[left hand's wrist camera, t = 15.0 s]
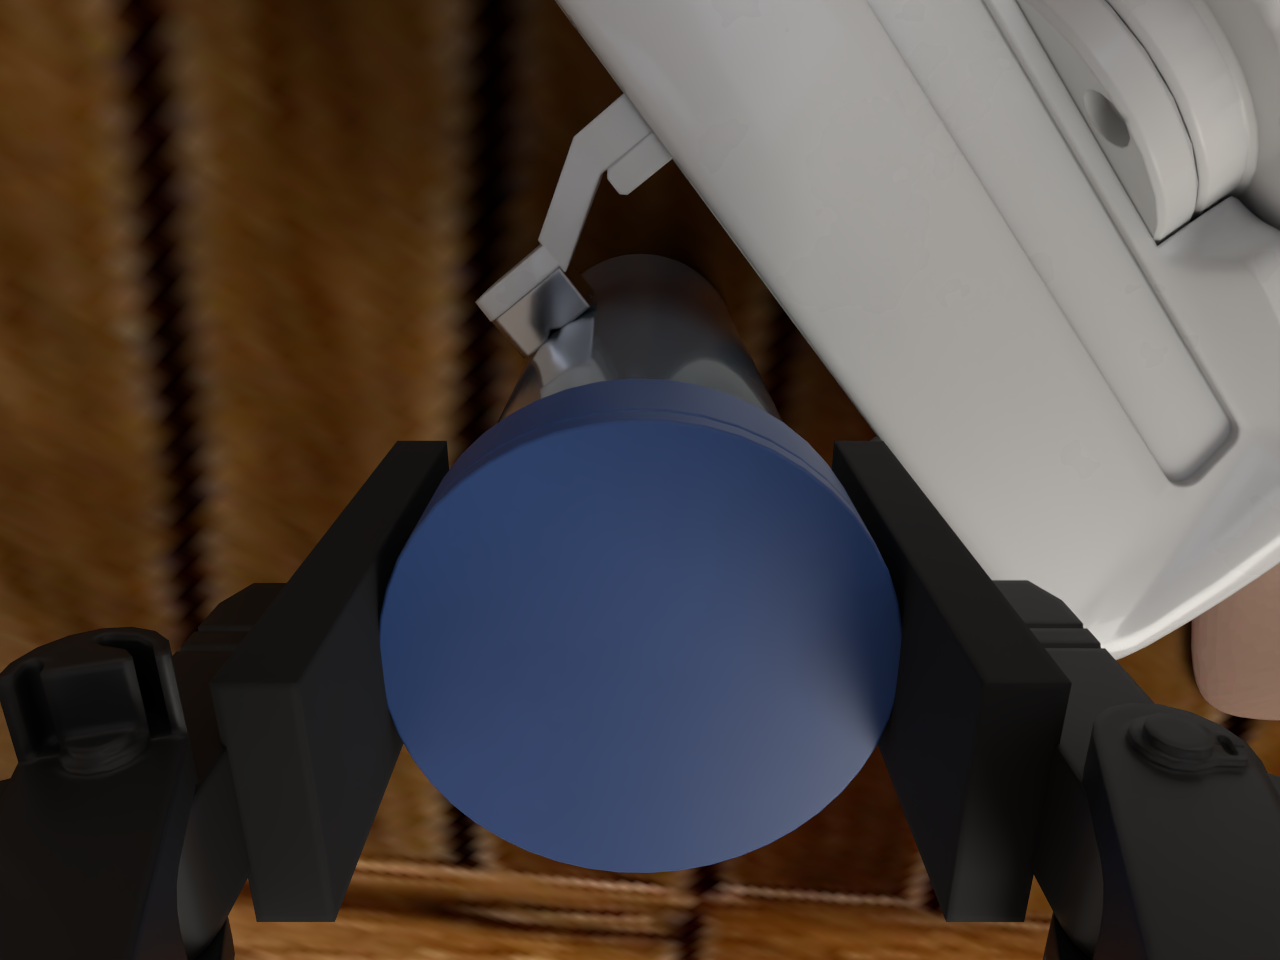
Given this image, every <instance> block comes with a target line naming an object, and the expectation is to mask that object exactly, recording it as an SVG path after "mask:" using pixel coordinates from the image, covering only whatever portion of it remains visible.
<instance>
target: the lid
mask: <svg viewBox="0 0 1280 960" xmlns="http://www.w3.org/2000/svg"><path fill="white" fill-rule="evenodd" d="M379 639H380V649H381V658H382V666H383V675H384V683H385V691H386V698H387V706H388V709H389V712H390V714H391V717H392V719H393V722H394V724H395V727H396V729H397V732H398V734H399V736H400V738H401V739H402V741H403V743H404V745H405V746H406V748H407V750H408V752H409V753H410V755H411V757H412V759H413V760H414V761H415V763H416V764H417V765H418V767H419V768H420V769H421V770H422V772H423V773H424V774H425V776H426V777H427V778H428V780H429V781H430V782H431V783H432V784H433V785H434V786H435V787H436V788H437V789H438V790H439V791H440V792H441V793H442V794H443V795H444V796H445V797H446V798H447V799H448V801H449V802H450V803H451V804H453V805H454V806H455V807H456V808H458V809H459V810H460V811H461V812H463V813H464V814H465V815H467V816H468V817H469V818H470V819H472V820H473V821H474V822H475V823H477V824H479V825H480V826H482V827H484V828H485V829H487V830H488V831H490V832H492V833H493V834H495V835H497V836H498V837H500V838H501V839H504V840H506V841H508V842H510V843H512V844H514V845H516V846H518V847H521V848H523V849H525V850H527V851H529V852H532V853H535V854H538V855H541V856H544V857H547V858H549V859H552V860H555V861H558V862H563V863H567V864H571V865H576V866H580V867H584V868H590V869H598V870H606V871H614V872H637V873H653V872H665V871H678V870H685V869H690V868H695V867H701V866H706V865H711V864H715V863H718V862H721V861H725V860H728V859H732V858H735V857H738V856H741V855H744V854H746V853H748V852H751V851H753V850H756V849H758V848H761V847H763V846H765V845H768V844H770V843H771V842H773V841H775V840H777V839H779V838H781V837H782V836H784V835H786V834H788V833H790V832H791V831H793V830H795V829H796V828H798V827H799V826H801V825H802V824H803V823H805V822H806V821H808V820H809V819H811V818H812V817H813V816H815V815H816V814H818V813H819V812H820V811H821V810H822V809H823V808H825V807H826V806H827V805H828V804H829V803H830V802H831V801H832V800H833V799H834V798H836V797H837V796H838V795H839V794H840V793H841V792H842V791H843V790H844V789H845V787H846V786H847V785H848V784H849V783H850V782H851V780H852V779H853V778H854V777H855V776H856V775H857V773H858V772H859V771H860V770H861V768H862V767H863V765H864V764H865V762H866V761H867V759H868V758H869V756H870V755H871V753H872V752H873V750H874V749H875V747H876V746H877V744H878V741H879V739H880V737H881V735H882V733H883V731H884V729H885V727H886V724H887V722H888V720H889V718H890V715H891V711H892V708H893V705H894V699H895V692H896V684H897V675H898V667H899V659H900V649H901V640H902V622H901V616H900V609H899V603H898V598H897V595H896V592H895V589H894V586H893V582H892V579H891V576H890V573H889V570H888V568H887V566H886V564H885V562H884V560H883V558H882V556H881V554H880V552H879V550H878V548H877V546H876V544H875V542H874V540H873V538H872V536H871V535H870V533H869V531H868V530H867V528H866V526H865V524H864V522H863V521H862V519H861V517H860V515H859V514H858V512H857V510H856V508H855V507H854V505H853V503H852V501H851V499H850V498H849V496H848V494H847V492H846V491H845V489H844V487H843V486H842V484H841V483H840V481H839V480H838V479H837V477H836V476H835V474H834V473H833V471H832V470H831V468H830V467H829V466H828V464H827V463H826V462H825V461H824V460H823V459H822V458H821V456H820V455H819V454H818V453H817V452H816V451H815V450H814V449H813V448H812V447H811V446H810V445H809V444H808V442H807V441H805V440H804V439H803V438H802V437H800V436H799V435H798V434H797V433H795V432H794V431H793V430H792V429H791V428H789V427H788V426H787V425H786V424H784V423H783V422H782V421H780V420H778V419H777V418H775V417H773V416H772V415H770V414H768V413H767V412H765V411H763V410H762V409H760V408H759V407H757V406H755V405H753V404H750V403H748V402H746V401H743V400H741V399H739V398H737V397H734V396H732V395H730V394H727V393H724V392H721V391H717V390H714V389H710V388H707V387H704V386H700V385H697V384H691V383H684V382H678V381H671V380H665V379H634V378H630V379H620V380H610V381H600V382H595V383H591V384H586V385H582V386H578V387H573V388H569V389H566V390H563V391H560V392H558V393H555V394H552V395H550V396H547V397H544V398H541V399H539V400H536V401H534V402H533V403H531V404H529V405H527V406H525V407H523V408H521V409H519V410H518V411H516V412H514V413H512V414H510V415H508V416H507V417H506V418H504V419H503V420H501V421H500V422H499V423H497V424H496V425H494V426H493V427H492V428H490V429H489V430H488V431H486V432H485V433H483V434H482V435H481V436H480V437H479V438H478V439H477V440H476V441H475V442H474V443H473V444H472V445H471V446H470V447H469V448H468V449H467V450H466V451H465V452H464V453H463V454H462V455H461V456H460V457H459V458H458V460H457V461H456V462H455V464H454V465H453V466H452V467H451V469H450V470H449V471H448V472H447V474H446V475H445V476H444V478H443V479H442V481H441V483H440V485H439V486H438V488H437V490H436V492H435V493H434V495H433V497H432V498H431V500H430V502H429V504H428V505H427V507H426V509H425V511H424V513H423V514H422V516H421V518H420V520H419V521H418V523H417V525H416V527H415V528H414V530H413V532H412V534H411V535H410V537H409V539H408V541H407V543H406V544H405V546H404V548H403V550H402V551H401V553H400V555H399V557H398V558H397V561H396V564H395V566H394V569H393V571H392V574H391V576H390V579H389V582H388V584H387V587H386V591H385V595H384V600H383V604H382V609H381V613H380V619H379Z"/></svg>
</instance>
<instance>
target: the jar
mask: <svg viewBox="0 0 1280 960" xmlns="http://www.w3.org/2000/svg"><path fill="white" fill-rule="evenodd" d="M581 275H582V276H583V278H584V279H585V280H586V281H587V283H588V284H589V285H590V287H591V288H592V289H593V291H594V296H593V298H592V299H591V300H592V303H591V306H590V308H588V309H587V310H586V311H585V312H583V313H582V314H581V315H580V316H579V317H577V318H576V319H575V320H574V321H572V322H571V323H569V324H567V325H566V326H564V327H563V328H557V329H552V330H551V333H550V335H549V338H548V340H547V341H546V342H545V343H544V344H543V345H542V346H541V347H540V348H539V349H538V350H537V351H535V352H534V353H532V354H531V355H530V357H529V359H528V361H527V363H526V365H525V367H524V369H523V371H522V373H521V375H520V377H519V379H518V382H517V384H516V386H515V388H514V390H513V392H512V394H511V396H510V398H509V400H508V402H507V404H506V406H505V408H504V410H503V412H502V414H501V416H500V418H499V421H498V423H499V422H500V421H501V420H503V419H504V418H506V417H507V416H508V415H510V414H512V413H514V412H516V411H518V410H519V409H521V408H523V407H525V406H527V405H529V404H531V403H533V402H534V401H536V400H539V399H541V398H544V397H547V396H550V395H552V394H555V393H558V392H560V391H563V390H566V389H569V388H573V387H578V386H582V385H586V384H591V383H595V382H600V381H610V380H620V379H630V378H634V379H665V380H671V381H678V382H684V383H691V384H697V385H700V386H704V387H707V388H710V389H714V390H717V391H721V392H724V393H727V394H730V395H732V396H734V397H737V398H739V399H741V400H743V401H746V402H748V403H750V404H753V405H755V406H757V407H759V408H760V409H762V410H763V411H765V412H767V413H768V414H770V415H772V416H773V417H775V418H777V419H778V420H780V421H782V419H781V417H780V415H779V413H778V411H777V409H776V407H775V405H774V403H773V401H772V399H771V397H770V395H769V393H768V391H767V389H766V386H765V384H764V382H763V380H762V378H761V376H760V374H759V372H758V370H757V368H756V366H755V364H754V362H753V360H752V358H751V356H750V354H749V352H748V349H747V347H746V345H745V343H744V341H743V339H742V337H741V335H740V333H739V331H738V329H737V327H736V325H735V323H734V321H733V319H732V317H731V315H730V312H729V310H728V308H727V306H726V304H725V302H724V301H723V299H722V298H721V296H720V295H719V293H718V292H717V290H716V289H715V288H714V287H713V286H712V285H711V284H710V283H709V281H707V280H706V279H705V278H704V277H703V276H702V275H700V274H699V273H698V272H696V271H695V270H693V269H692V268H690V267H689V266H687V265H685V264H683V263H680V262H678V261H676V260H673V259H670V258H667V257H664V256H658V255H652V254H630V255H622V256H618V257H614V258H611V259H608V260H605V261H603V262H600V263H598V264H596V265H594V266H593V267H591V268H589V269H587V270H586V271H585V272H583V273H582V274H581ZM782 422H783V421H782Z"/></svg>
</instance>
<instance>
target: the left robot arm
mask: <svg viewBox="0 0 1280 960" xmlns="http://www.w3.org/2000/svg"><path fill="white" fill-rule="evenodd" d="M448 471H449V463H448V451H447V441H397V442H396V444H395V445H394V446H393V447H392V449H391V450H390V451H389V453H388V454H387V455H386V456H385V458H384V459H383V460H382V462H381V463H380V464H379V465H378V467H377V468H376V469H375V471H374V472H373V473H372V474H371V476H370V477H369V478H368V480H367V481H366V482H365V483H364V485H363V486H362V487H361V489H360V490H359V491H358V492H357V494H356V495H355V496H354V498H353V499H352V500H351V501H350V503H349V504H348V505H347V507H346V508H345V509H344V510H343V512H342V513H341V514H340V516H339V517H338V518H337V519H336V521H335V522H334V523H333V525H332V526H331V527H330V528H329V530H328V531H327V532H326V534H325V535H324V536H323V537H322V539H321V540H320V541H319V543H318V544H317V545H316V546H315V548H314V549H313V550H312V552H311V553H310V554H309V555H308V557H307V558H306V559H305V561H304V562H303V563H302V564H301V566H300V567H299V568H298V570H297V571H296V572H295V573H294V575H293V576H292V577H291V579H290V580H289V581H288V582H287V583H253V584H252V585H250V586H248V587H246V588H245V589H243V590H241V591H240V592H238V593H236V594H234V595H233V596H231V597H229V598H228V599H226V600H224V601H222V602H221V603H219V604H218V605H217V607H216V608H215V609H214V610H213V611H212V612H211V613H210V614H209V616H208V617H207V618H206V619H205V620H204V621H203V622H202V623H201V625H200V626H199V630H198V632H193V634H192V635H191V636H190V637H189V638H188V639H187V640H186V641H185V643H184V644H183V645H182V646H181V652H176V653H175V654H174V655H173V656H172V653H171V649H170V644H169V640H167V639H166V638H164V637H163V636H162V635H160V634H159V633H157V632H156V631H152V630H146V629H141V628H135V627H122V628H102V629H98V630H93V631H88V632H84V633H79V634H74V635H70V636H67V637H64V638H61V639H59V640H56V641H53V642H51V643H48V644H45V645H43V646H40V647H37V648H36V649H34V650H32V651H30V652H29V653H27V654H25V655H24V656H22V657H20V658H18V659H17V660H15V661H13V662H12V663H10V664H9V665H8V666H7V667H6V668H5V669H4V670H3V671H2V672H1V673H0V702H1V706H2V709H3V712H4V716H5V719H6V722H7V726H8V729H9V732H10V736H11V739H12V742H13V746H14V749H15V752H16V756H17V759H18V762H19V763H18V765H17V767H16V769H15V771H14V773H13V775H12V777H11V778H10V779H6V780H2V781H0V960H234V957H235V952H234V946H233V939H232V933H231V929H230V924H229V919H228V915H229V913H230V911H231V909H232V907H233V905H234V903H235V901H236V899H237V897H238V895H239V894H240V892H241V890H242V888H243V886H244V884H245V882H246V880H247V878H248V880H249V885H250V890H251V895H252V900H253V905H254V910H255V915H256V920H257V922H335V920H336V917H337V914H338V912H339V909H340V907H341V904H342V901H343V899H344V896H345V894H346V891H347V888H348V886H349V883H350V881H351V878H352V875H353V873H354V870H355V868H356V865H357V862H358V860H359V857H360V855H361V852H362V849H363V847H364V844H365V842H366V839H367V836H368V834H369V831H370V829H371V826H372V823H373V821H374V818H375V816H376V813H377V810H378V808H379V805H380V803H381V800H382V798H383V795H384V792H385V790H386V787H387V785H388V782H389V779H390V777H391V774H392V772H393V769H394V766H395V764H396V761H397V759H398V756H399V753H400V751H401V748H402V746H403V741H402V739H401V738H400V736H399V734H398V732H397V729H396V727H395V724H394V722H393V719H392V717H391V714H390V712H389V709H388V706H387V698H386V691H385V683H384V675H383V666H382V658H381V649H380V639H379V619H380V613H381V609H382V604H383V600H384V595H385V591H386V587H387V584H388V582H389V579H390V576H391V574H392V571H393V569H394V566H395V564H396V561H397V558H398V557H399V555H400V553H401V551H402V550H403V548H404V546H405V544H406V543H407V541H408V539H409V537H410V535H411V534H412V532H413V530H414V528H415V527H416V525H417V523H418V521H419V520H420V518H421V516H422V514H423V513H424V511H425V509H426V507H427V505H428V504H429V502H430V500H431V498H432V497H433V495H434V493H435V492H436V490H437V488H438V486H439V485H440V483H441V481H442V479H443V478H444V476H445V475H446V474H447V472H448ZM832 471H833V473H834V474H835V476H836V477H837V479H838V480H839V481H840V483H841V484H842V486H843V487H844V489H845V491H846V492H847V494H848V496H849V498H850V499H851V501H852V503H853V505H854V507H855V508H856V510H857V512H858V514H859V515H860V517H861V519H862V521H863V522H864V524H865V526H866V528H867V530H868V531H869V533H870V535H871V536H872V538H873V540H874V542H875V544H876V546H877V548H878V550H879V552H880V554H881V556H882V558H883V560H884V562H885V564H886V566H887V568H888V570H889V573H890V576H891V579H892V582H893V586H894V589H895V592H896V595H897V598H898V603H899V609H900V616H901V622H902V640H901V649H900V659H899V667H898V675H897V684H896V692H895V699H894V705H893V708H892V711H891V715H890V718H889V720H888V722H887V724H886V727H885V729H884V731H883V733H882V735H881V737H880V739H879V741H878V746H879V748H880V751H881V754H882V756H883V759H884V761H885V764H886V767H887V769H888V772H889V774H890V777H891V780H892V782H893V785H894V787H895V790H896V793H897V795H898V798H899V800H900V803H901V806H902V808H903V811H904V813H905V816H906V818H907V821H908V824H909V826H910V829H911V831H912V834H913V837H914V839H915V842H916V844H917V847H918V850H919V852H920V855H921V857H922V860H923V863H924V865H925V868H926V870H927V873H928V876H929V878H930V881H931V883H932V886H933V889H934V891H935V894H936V896H937V899H938V902H939V904H940V907H941V909H942V912H943V915H944V917H945V920H946V922H1024V920H1025V915H1026V910H1027V905H1028V900H1029V895H1030V890H1031V885H1032V880H1033V875H1034V876H1035V878H1036V879H1037V881H1038V883H1039V885H1040V887H1041V889H1042V891H1043V893H1044V895H1045V896H1046V898H1047V900H1048V902H1049V904H1050V906H1051V908H1052V910H1053V915H1052V919H1051V924H1050V929H1049V933H1048V938H1047V943H1046V947H1045V952H1044V957H1043V960H1280V777H1279V776H1275V775H1271V774H1268V773H1267V771H1266V769H1265V767H1264V765H1263V763H1262V761H1261V760H1260V759H1259V758H1258V756H1257V755H1256V754H1255V753H1254V751H1253V750H1252V749H1251V748H1250V747H1249V745H1248V744H1247V743H1246V742H1245V741H1243V740H1242V739H1240V738H1239V737H1237V736H1236V735H1234V734H1233V733H1232V732H1230V731H1229V730H1227V729H1226V728H1224V727H1223V726H1221V725H1219V724H1217V723H1215V722H1212V721H1210V720H1208V719H1205V718H1203V717H1201V716H1198V715H1196V714H1194V713H1192V712H1188V711H1184V710H1180V709H1176V708H1172V707H1168V706H1164V705H1160V704H1155V703H1154V702H1153V701H1152V700H1151V699H1150V698H1149V697H1148V696H1147V695H1146V693H1145V692H1144V691H1143V690H1142V689H1141V688H1140V687H1139V686H1138V684H1137V683H1136V682H1135V681H1134V680H1133V679H1132V678H1131V677H1130V676H1129V674H1128V673H1127V672H1126V671H1125V670H1124V669H1123V668H1122V667H1121V665H1120V664H1119V663H1118V662H1117V661H1116V660H1115V659H1114V658H1113V657H1112V655H1111V654H1110V653H1109V652H1108V651H1107V650H1106V649H1105V648H1101V643H1100V642H1099V641H1098V640H1097V639H1096V637H1095V636H1094V635H1093V634H1092V633H1091V632H1090V631H1089V630H1088V629H1087V628H1083V623H1082V622H1081V621H1080V620H1079V618H1078V617H1077V616H1076V615H1075V614H1074V613H1073V612H1072V611H1071V610H1070V608H1069V607H1068V606H1067V605H1066V604H1065V603H1064V602H1063V601H1062V600H1061V599H1059V598H1057V597H1056V596H1054V595H1052V594H1050V593H1049V592H1047V591H1045V590H1044V589H1042V588H1040V587H1038V586H1037V585H1035V584H1033V583H1032V582H1030V581H1028V580H991V579H990V577H989V576H988V575H987V573H986V572H985V571H984V570H983V568H982V567H981V566H980V564H979V563H978V562H977V561H976V559H975V558H974V557H973V555H972V554H971V553H970V552H969V550H968V549H967V548H966V546H965V545H964V544H963V543H962V541H961V540H960V539H959V537H958V536H957V535H956V534H955V532H954V531H953V530H952V528H951V527H950V526H949V525H948V523H947V522H946V521H945V519H944V518H943V517H942V516H941V514H940V513H939V512H938V510H937V509H936V508H935V507H934V505H933V504H932V503H931V501H930V500H929V499H928V498H927V496H926V495H925V494H924V492H923V491H922V490H921V489H920V487H919V486H918V485H917V483H916V482H915V481H914V480H913V478H912V477H911V476H910V474H909V473H908V472H907V471H906V469H905V468H904V467H903V465H902V464H901V463H900V462H899V460H898V459H897V458H896V456H895V455H894V454H893V453H892V451H891V450H890V449H889V447H888V446H887V445H886V444H885V442H884V441H834V450H833V463H832Z"/></svg>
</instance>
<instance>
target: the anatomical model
mask: <svg viewBox="0 0 1280 960" xmlns="http://www.w3.org/2000/svg"><path fill="white" fill-rule="evenodd" d="M1191 651H1192V663H1193V671H1194V676H1195V681H1196V684H1197V686H1198V688H1199V691H1200V693H1201V694H1202V696H1203V697H1204V699H1205V700H1206V701H1207V702H1208V703H1209V704H1210V705H1212V706H1213V707H1215V708H1216V709H1218V710H1220V711H1222V712H1225V713H1227V714H1231V715H1234V716H1238V717H1246V718H1253V719H1263V720H1280V563H1279V564H1277V565H1276V566H1274V567H1273V568H1272V569H1270V570H1269V571H1267V572H1266V573H1264V574H1263V575H1261V576H1260V577H1258V578H1257V579H1255V580H1254V581H1252V582H1251V583H1249V584H1248V585H1246V586H1245V587H1243V588H1242V589H1240V590H1239V591H1237V592H1236V593H1234V594H1233V595H1231V596H1230V597H1228V598H1226V599H1225V600H1223V601H1222V602H1220V603H1219V604H1217V605H1215V606H1214V607H1212V608H1210V609H1209V610H1207V611H1206V612H1204V613H1202V614H1201V615H1199V616H1198V617H1196V618H1194V619H1193V620H1192V631H1191Z"/></svg>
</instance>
